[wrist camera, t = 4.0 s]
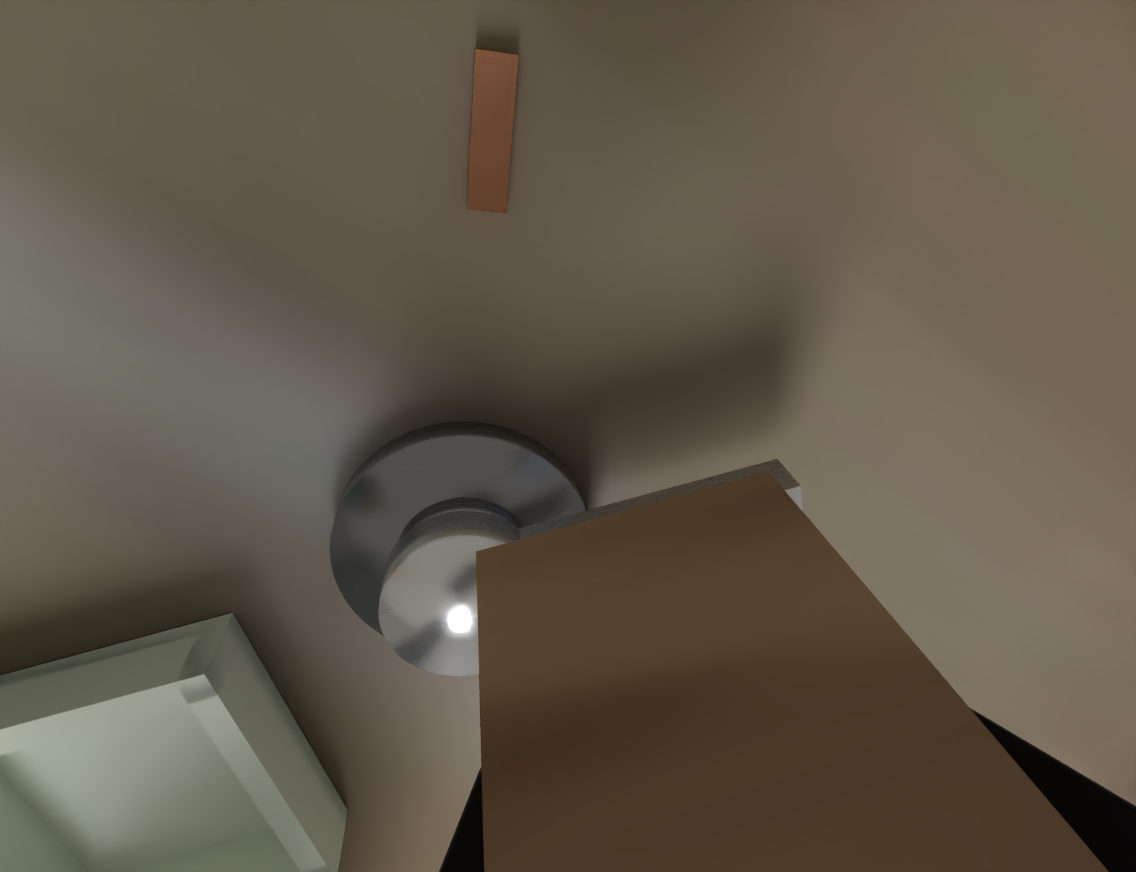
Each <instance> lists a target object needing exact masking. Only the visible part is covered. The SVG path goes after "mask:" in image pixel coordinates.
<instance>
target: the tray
mask: <svg viewBox="0 0 1136 872" xmlns="http://www.w3.org/2000/svg"><path fill="white" fill-rule="evenodd" d="M347 814H348V810H347V808H346V806H345V805H344V803H343V801H342V800H341V798H340V796H339V794H338V793H337V791H336V789H335V788H334V786H333V784H332V782H331V781H330V779H329V777H328V776H327V774H326V772H325V770H324V769H323V767H322V765H321V764H320V762H319V760H318V758H317V757H316V755H315V753H314V752H313V750H312V748H311V746H310V745H309V743H308V741H307V740H306V738H305V736H304V734H303V733H302V731H301V729H300V728H299V726H298V724H297V722H296V721H295V719H294V717H293V716H292V714H291V712H290V710H289V709H288V707H287V705H286V704H285V702H284V700H283V698H282V697H281V695H280V693H279V691H278V690H277V688H276V686H275V685H274V683H273V681H272V679H271V678H270V676H269V674H268V673H267V671H266V669H265V667H264V666H263V664H262V662H261V661H260V659H259V657H258V655H257V654H256V652H255V650H254V649H253V647H252V645H251V643H250V642H249V640H248V638H247V637H246V635H245V633H244V631H243V630H242V628H241V626H240V625H239V623H238V621H237V619H236V618H235V616H234V614H233V613H230V614H226V615H223V616H219V617H215V618H211V619H208V620H204V621H200V622H197V623H193V624H189V625H186V626H182V627H178V628H174V629H171V630H167V631H163V632H160V633H156V634H152V635H149V636H145V637H141V638H137V639H134V640H130V641H126V642H123V643H119V644H115V645H112V646H108V647H104V648H100V649H97V650H93V651H89V652H86V653H82V654H78V655H75V656H71V657H67V658H63V659H60V660H56V661H52V662H49V663H45V664H41V665H38V666H34V667H30V668H26V669H23V670H19V671H15V672H12V673H8V674H4V675H1V676H0V872H338V867H339V861H340V855H341V849H342V843H343V838H344V832H345V826H346V820H347Z"/></svg>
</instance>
